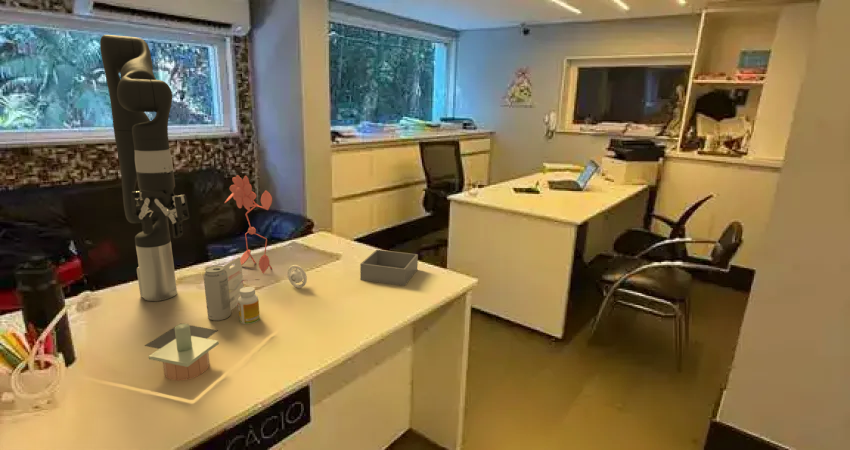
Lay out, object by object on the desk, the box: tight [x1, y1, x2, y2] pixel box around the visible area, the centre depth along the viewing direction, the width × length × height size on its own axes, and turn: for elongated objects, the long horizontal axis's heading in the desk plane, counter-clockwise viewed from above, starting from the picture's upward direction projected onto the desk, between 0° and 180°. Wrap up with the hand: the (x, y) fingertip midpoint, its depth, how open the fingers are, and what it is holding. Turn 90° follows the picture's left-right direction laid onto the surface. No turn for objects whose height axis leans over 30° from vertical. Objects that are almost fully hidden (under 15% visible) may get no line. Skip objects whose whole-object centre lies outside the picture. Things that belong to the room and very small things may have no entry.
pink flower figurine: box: [224, 174, 273, 282], centre depth 160 cm, size 15×26×35 cm, turn 57°
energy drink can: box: [203, 265, 232, 322], centre depth 128 cm, size 6×6×15 cm
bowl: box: [162, 351, 210, 381], centre depth 105 cm, size 9×9×5 cm
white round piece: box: [286, 264, 308, 289], centre depth 152 cm, size 8×6×8 cm
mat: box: [144, 324, 219, 350], centre depth 119 cm, size 12×12×1 cm
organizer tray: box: [359, 249, 419, 287], centre depth 165 cm, size 16×16×6 cm
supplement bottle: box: [237, 286, 261, 325], centre depth 128 cm, size 5×5×10 cm
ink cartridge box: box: [223, 256, 244, 311], centre depth 136 cm, size 9×5×15 cm, turn 170°
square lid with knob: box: [148, 323, 220, 367], centre depth 104 cm, size 10×10×6 cm
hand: (163, 235), depth 112 cm, fingers open, 8 cm apart
